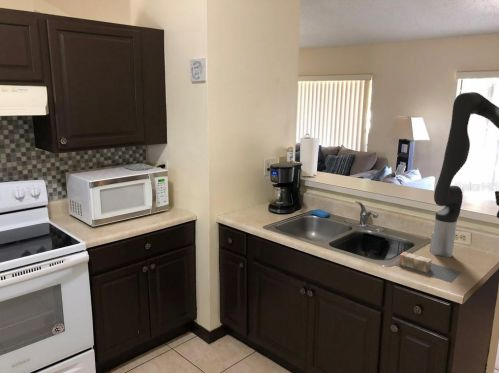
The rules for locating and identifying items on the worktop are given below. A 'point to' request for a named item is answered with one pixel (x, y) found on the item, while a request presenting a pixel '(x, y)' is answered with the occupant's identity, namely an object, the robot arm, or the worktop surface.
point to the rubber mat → (437, 272)
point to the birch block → (415, 261)
